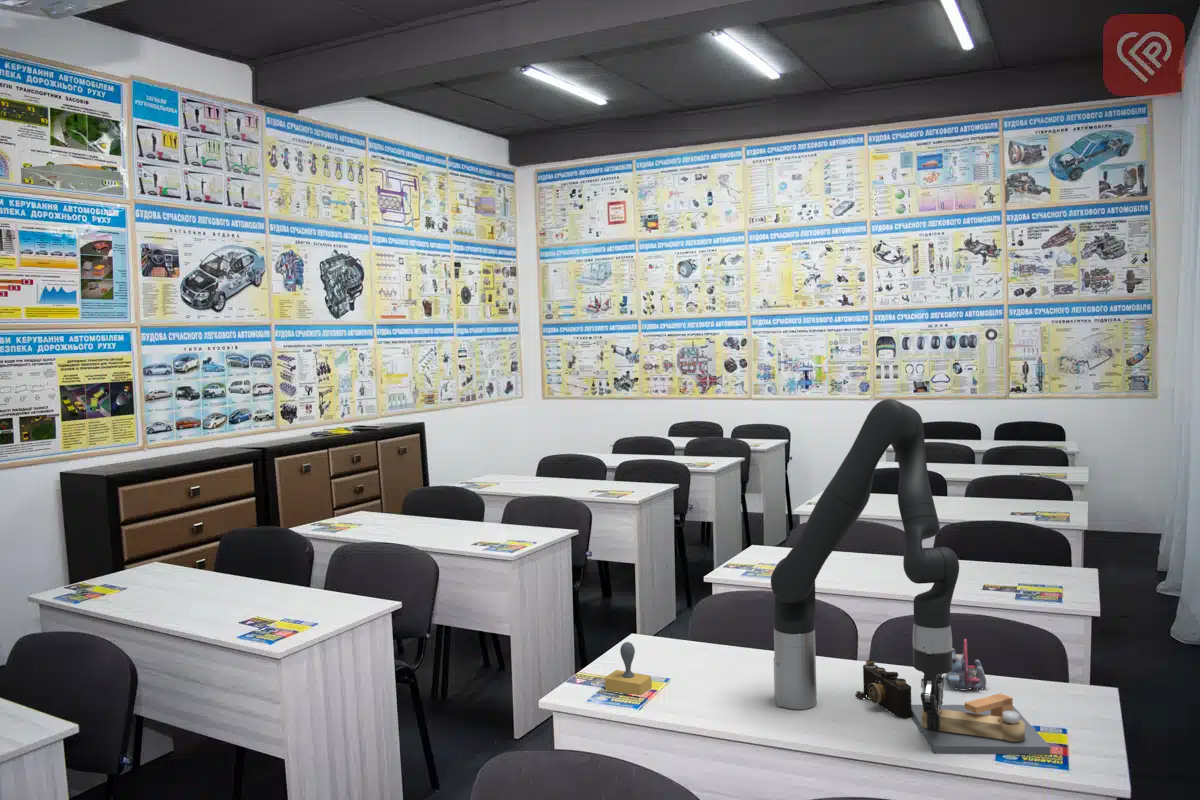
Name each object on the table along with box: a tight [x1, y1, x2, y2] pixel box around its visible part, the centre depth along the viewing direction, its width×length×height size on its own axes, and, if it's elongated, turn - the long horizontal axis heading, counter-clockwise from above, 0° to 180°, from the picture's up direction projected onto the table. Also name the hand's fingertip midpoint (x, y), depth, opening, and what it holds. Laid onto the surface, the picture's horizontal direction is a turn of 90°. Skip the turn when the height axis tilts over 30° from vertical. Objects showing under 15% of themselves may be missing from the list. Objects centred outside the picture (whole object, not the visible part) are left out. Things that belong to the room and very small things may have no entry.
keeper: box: [964, 692, 1014, 717], centre depth 187 cm, size 10×3×6 cm, turn 115°
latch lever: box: [921, 709, 1025, 742], centre depth 185 cm, size 20×5×3 cm, turn 65°
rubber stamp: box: [604, 641, 653, 695], centre depth 218 cm, size 10×6×12 cm, turn 60°
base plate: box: [911, 704, 1051, 755], centre depth 188 cm, size 22×21×6 cm
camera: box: [855, 659, 913, 720], centre depth 204 cm, size 16×7×8 cm, turn 15°
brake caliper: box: [942, 638, 987, 690], centre depth 215 cm, size 11×11×12 cm
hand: (933, 730), depth 184 cm, fingers closed
